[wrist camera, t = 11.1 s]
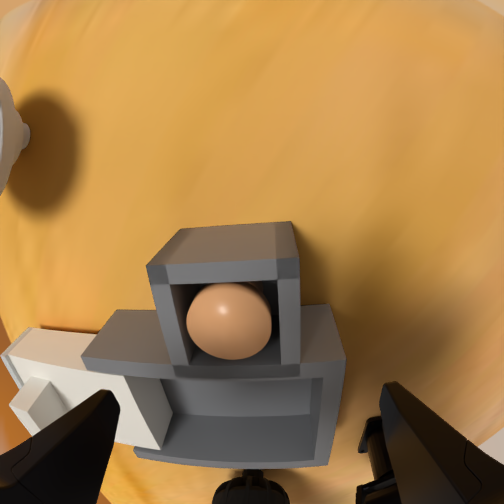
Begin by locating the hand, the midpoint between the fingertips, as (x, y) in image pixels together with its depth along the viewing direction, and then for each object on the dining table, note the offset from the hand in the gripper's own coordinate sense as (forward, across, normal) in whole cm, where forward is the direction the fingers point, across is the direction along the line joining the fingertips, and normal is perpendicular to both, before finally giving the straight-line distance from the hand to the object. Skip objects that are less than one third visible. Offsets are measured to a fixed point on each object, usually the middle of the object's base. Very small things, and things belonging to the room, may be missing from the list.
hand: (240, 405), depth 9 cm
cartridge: (+11, +15, +9) cm, 21 cm away
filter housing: (+12, +3, +6) cm, 14 cm away
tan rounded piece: (+10, +1, +1) cm, 10 cm away
